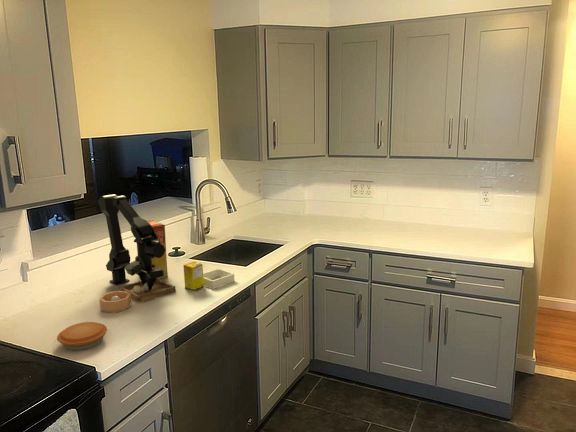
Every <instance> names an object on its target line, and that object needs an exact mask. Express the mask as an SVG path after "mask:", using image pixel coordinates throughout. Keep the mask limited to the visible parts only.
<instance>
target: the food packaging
mask: <svg viewBox="0 0 576 432" xmlns="http://www.w3.org/2000/svg"><path fill="white" fill-rule="evenodd" d="M146 221H147V222H148V223H149V224H150V225H151V226H152V227H153V229H154V231H155V233H156V234H157V238H158V240H156V241H160V244H162V245H163V246H164V248H165V253H164V255H163V256H162V257H161V258H156V257H154V258H152V262H153V264H154V265H155V267H153V268H152V269H154V268H159V269H162V270H163V271H164V276H161V277H158V278H157V279H159V280H161V279H165V278H168V277H169V274H168V265H167V264H168V262H167V259H168V257H167V242H166V225H165V224H164V223H161V222H159V221H156V220H154V219H151V220H150V219H149V220H146ZM150 237H152V236H150ZM146 238H148V237H146Z"/></svg>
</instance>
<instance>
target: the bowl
mask: <svg viewBox="0 0 576 432" xmlns="http://www.w3.org/2000/svg"><path fill="white" fill-rule="evenodd" d="M113 296H118V297H120V300H117V301H111V298H112V297H113ZM98 302H99V308H100V309H101V311H102V312H105V313H119V312H123V311H125V310H128V309H129V308H131V305H132V303H133V299H132V298H131V294H130V293H128V292H126V291H120V290H114V291H110V292H107V293H103V294H101V296H100V297H99V299H98Z"/></svg>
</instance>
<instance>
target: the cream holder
mask: <svg viewBox="0 0 576 432" xmlns="http://www.w3.org/2000/svg"><path fill="white" fill-rule="evenodd" d="M218 277H219V278H218ZM203 281H204V287H206V288H210V289H214V290H215V289H217V288H220V287H222V286H225V285H228V284H231V283H234V281H236V280H235V273H234V272H231V271H228V270H225V269H222V268H215V269H212V270H209V271H208V270H207V271H205V272H203Z"/></svg>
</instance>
